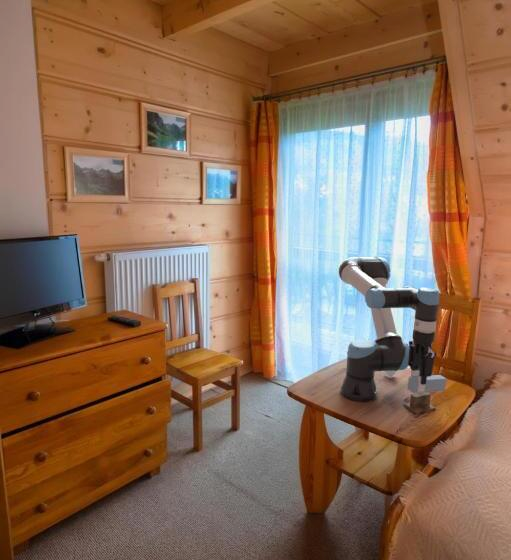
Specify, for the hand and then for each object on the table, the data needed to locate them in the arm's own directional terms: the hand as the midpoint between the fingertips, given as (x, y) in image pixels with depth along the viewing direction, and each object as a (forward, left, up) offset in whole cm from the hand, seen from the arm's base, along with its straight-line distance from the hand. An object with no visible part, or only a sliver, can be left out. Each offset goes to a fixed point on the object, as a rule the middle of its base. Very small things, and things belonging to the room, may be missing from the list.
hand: (417, 388), depth 163 cm
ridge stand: (+8, +6, -12) cm, 16 cm away
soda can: (+28, +25, -13) cm, 40 cm away
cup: (+18, +37, -13) cm, 43 cm away
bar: (+4, -1, -1) cm, 4 cm away
